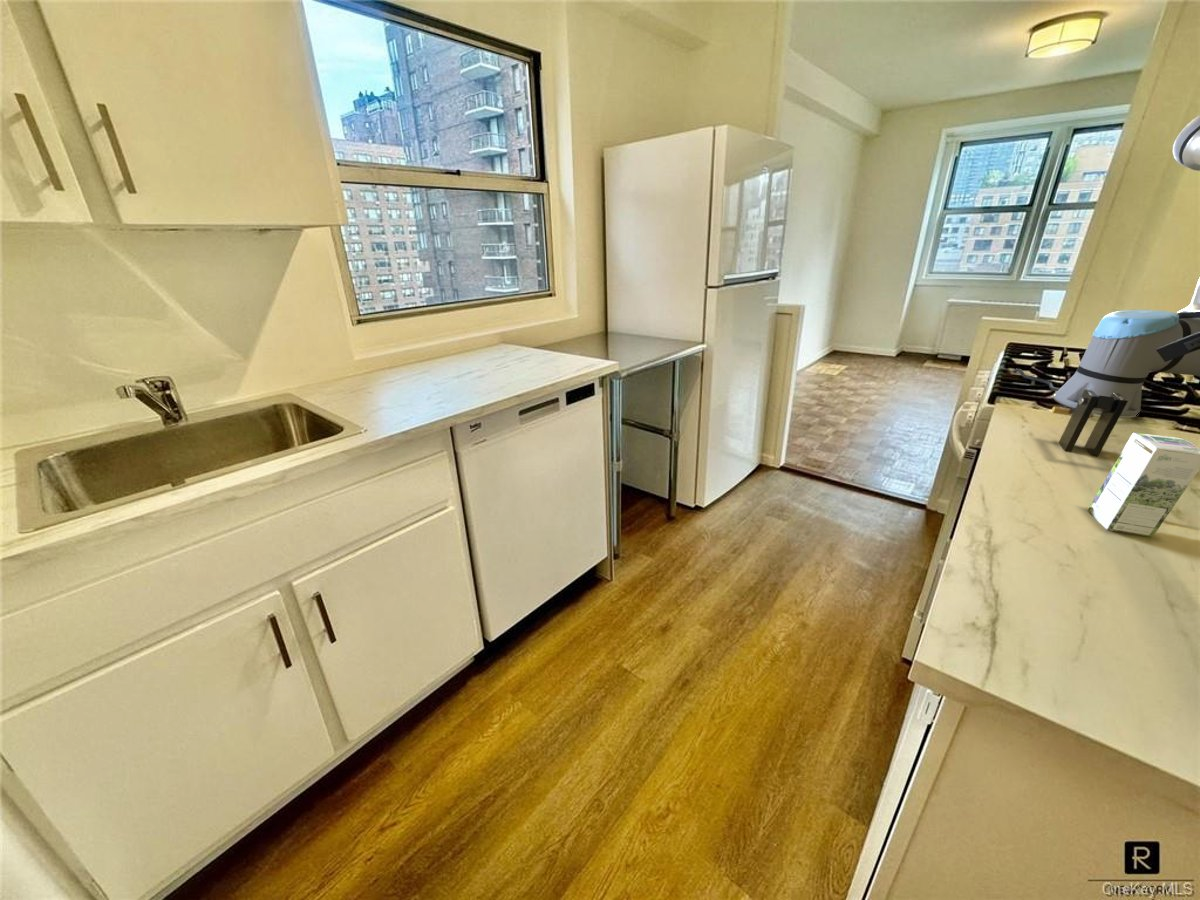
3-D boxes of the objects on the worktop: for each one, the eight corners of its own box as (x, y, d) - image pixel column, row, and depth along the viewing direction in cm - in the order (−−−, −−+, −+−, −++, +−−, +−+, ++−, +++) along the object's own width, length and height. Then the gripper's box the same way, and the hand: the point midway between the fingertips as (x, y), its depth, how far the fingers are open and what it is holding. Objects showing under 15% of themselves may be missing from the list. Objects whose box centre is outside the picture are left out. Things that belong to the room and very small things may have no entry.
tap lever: (1050, 415, 104) (1052, 404, 104) (1086, 421, 101) (1089, 409, 101) (1082, 405, 91) (1086, 393, 91) (1125, 411, 88) (1128, 399, 88)
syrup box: (1130, 517, 77) (1181, 435, 70) (1154, 539, 72) (1211, 453, 65) (1086, 510, 79) (1131, 430, 72) (1106, 531, 74) (1157, 447, 67)
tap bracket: (1040, 440, 102) (1067, 383, 96) (1095, 450, 98) (1127, 390, 92) (1052, 460, 94) (1083, 399, 88) (1113, 471, 90) (1149, 408, 84)
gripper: (1410, 295, 67) (1171, 379, 86) (1389, 286, 75) (1174, 365, 94) (1372, 252, 68) (1145, 344, 87) (1356, 247, 76) (1150, 333, 95)
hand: (1160, 355), depth 90 cm, fingers closed
